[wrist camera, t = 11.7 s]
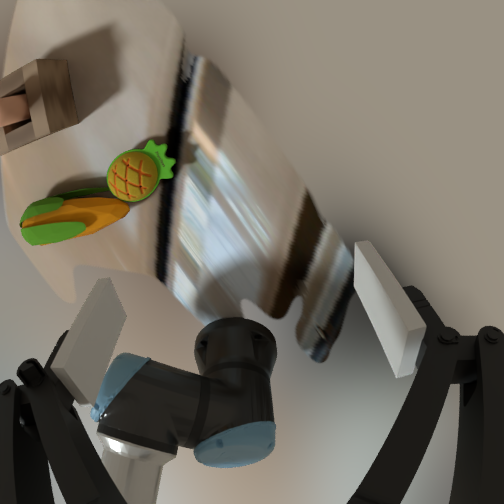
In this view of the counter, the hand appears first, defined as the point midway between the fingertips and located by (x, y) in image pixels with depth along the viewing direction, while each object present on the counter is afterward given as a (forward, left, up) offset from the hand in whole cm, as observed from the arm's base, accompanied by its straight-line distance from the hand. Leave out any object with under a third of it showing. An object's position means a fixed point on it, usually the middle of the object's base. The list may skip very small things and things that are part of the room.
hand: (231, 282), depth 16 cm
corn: (-2, +25, -29) cm, 38 cm away
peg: (+15, +26, -29) cm, 41 cm away
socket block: (+15, +26, -29) cm, 42 cm away
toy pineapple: (+1, +13, -29) cm, 32 cm away
